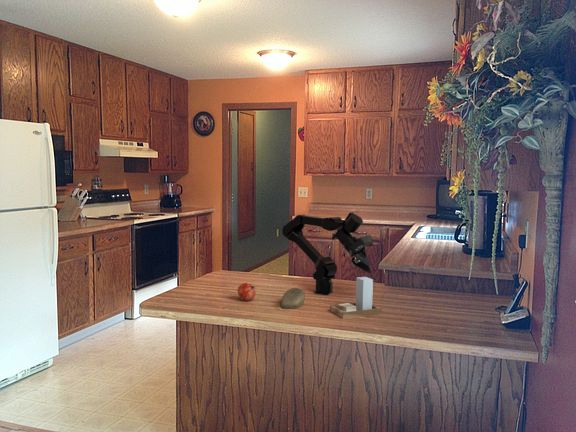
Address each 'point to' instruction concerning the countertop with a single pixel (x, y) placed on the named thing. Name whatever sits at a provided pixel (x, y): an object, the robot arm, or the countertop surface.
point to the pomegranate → (246, 292)
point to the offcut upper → (347, 307)
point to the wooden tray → (352, 314)
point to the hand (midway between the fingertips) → (370, 269)
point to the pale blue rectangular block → (364, 293)
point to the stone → (293, 298)
